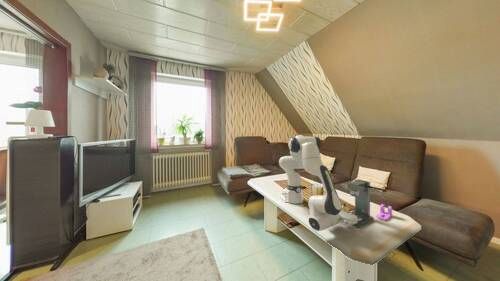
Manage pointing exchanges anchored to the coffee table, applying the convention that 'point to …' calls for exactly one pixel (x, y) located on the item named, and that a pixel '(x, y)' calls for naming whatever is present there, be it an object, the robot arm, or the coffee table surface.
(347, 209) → the bottle
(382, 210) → the bracket
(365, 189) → the press
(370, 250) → the coffee table surface
